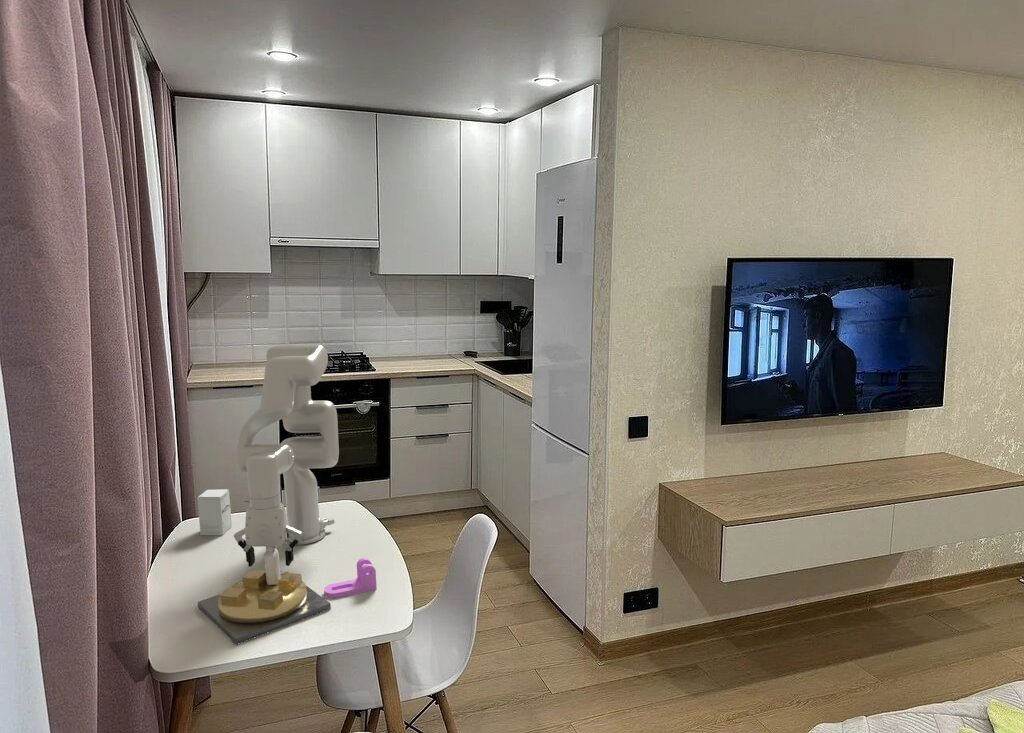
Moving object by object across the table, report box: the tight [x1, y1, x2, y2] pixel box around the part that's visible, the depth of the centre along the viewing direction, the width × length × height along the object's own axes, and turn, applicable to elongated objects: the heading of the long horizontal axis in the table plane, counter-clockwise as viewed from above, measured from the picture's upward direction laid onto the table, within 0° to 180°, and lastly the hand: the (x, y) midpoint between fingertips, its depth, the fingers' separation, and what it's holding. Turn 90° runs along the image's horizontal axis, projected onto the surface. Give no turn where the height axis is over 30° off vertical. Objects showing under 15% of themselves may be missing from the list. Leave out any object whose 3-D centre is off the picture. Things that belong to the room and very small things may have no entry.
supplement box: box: [196, 488, 233, 536], centre depth 237 cm, size 7×7×13 cm
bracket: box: [323, 557, 378, 599], centre depth 197 cm, size 13×6×7 cm, turn 114°
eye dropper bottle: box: [263, 546, 281, 585], centre depth 194 cm, size 4×6×12 cm
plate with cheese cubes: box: [218, 569, 307, 623], centre depth 188 cm, size 21×21×4 cm
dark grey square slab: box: [197, 571, 332, 645], centre depth 189 cm, size 24×24×2 cm
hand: (270, 563), depth 194 cm, fingers open, 9 cm apart
